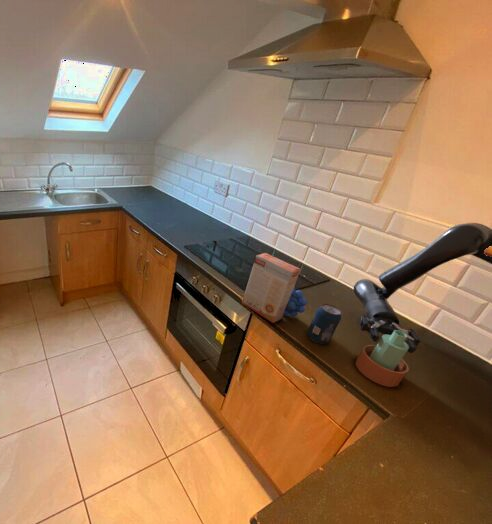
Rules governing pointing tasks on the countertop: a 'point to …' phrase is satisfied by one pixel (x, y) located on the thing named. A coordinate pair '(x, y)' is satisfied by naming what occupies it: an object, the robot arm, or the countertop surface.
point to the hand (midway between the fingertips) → (394, 344)
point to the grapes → (295, 303)
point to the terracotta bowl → (380, 369)
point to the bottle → (390, 350)
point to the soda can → (324, 323)
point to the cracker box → (270, 286)
